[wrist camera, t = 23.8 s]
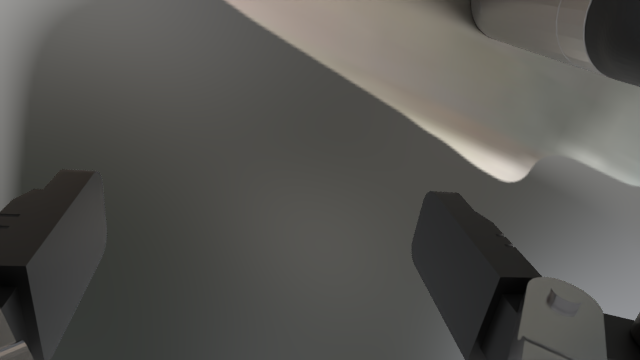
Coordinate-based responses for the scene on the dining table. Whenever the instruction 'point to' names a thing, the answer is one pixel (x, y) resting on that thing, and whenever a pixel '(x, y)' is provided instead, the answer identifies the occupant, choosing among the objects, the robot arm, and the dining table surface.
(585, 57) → the robot arm
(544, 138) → the dining table surface
